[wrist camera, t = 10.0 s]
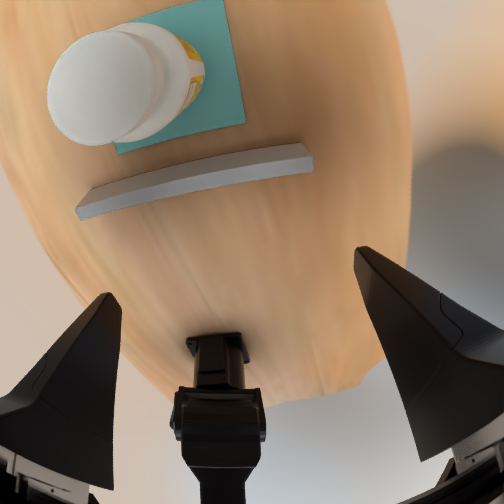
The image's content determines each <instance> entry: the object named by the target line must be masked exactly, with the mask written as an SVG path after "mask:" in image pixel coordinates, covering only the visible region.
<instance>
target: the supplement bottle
mask: <svg viewBox="0 0 504 504" xmlns="http://www.w3.org/2000/svg"><path fill="white" fill-rule="evenodd" d="M204 78H205V68H204V63H203V60H202V58H201V56H200V54H199V53H198V51H197V50H196V49H195V48H194V47H193V46H192V45H190V44H189V43H188V42H186V41H184V40H183V39H181V38H179V37H178V36H176V35H174V34H172V33H171V32H169V31H167V30H166V29H164V28H162V27H159V26H157V25H153V24H150V23H143V22H132V23H125V24H121V25H117V26H115V27H112V28H110V29H108V30H104V31H98V32H94V33H91V34H88V35H86V36H84V37H82V38H80V39H79V40H77V41H75V42H74V43H73V44H72V45H71V46H69V47H68V48H67V49H66V50H65V51H64V52H63V54H62V55H61V56H60V57H59V59H58V60H57V62H56V64H55V66H54V68H53V70H52V72H51V75H50V78H49V82H48V88H47V104H48V109H49V112H50V116H51V118H52V120H53V122H54V124H55V125H56V127H57V128H58V129H59V130H60V132H61V133H63V134H64V135H65V136H66V137H67V138H68V139H70V140H72V141H74V142H76V143H79V144H82V145H89V146H100V145H105V144H109V143H112V142H119V143H125V142H133V141H138V140H141V139H144V138H147V137H149V136H151V135H153V134H155V133H157V132H158V131H160V130H161V129H162V128H164V127H165V126H166V125H167V124H169V123H170V122H171V121H172V120H173V119H174V118H175V117H177V116H178V115H179V114H180V113H181V112H182V111H183V110H184V109H186V108H187V107H188V106H189V105H190V104H191V103H192V102H193V101H194V100H195V98H196V97H197V96H198V94H199V92H200V90H201V88H202V86H203V83H204Z"/></svg>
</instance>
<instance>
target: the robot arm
mask: <svg viewBox="0 0 504 504" xmlns="http://www.w3.org/2000/svg"><path fill="white" fill-rule="evenodd" d="M354 272H355V275H356V278H357V281H358V284H359V287H360V291H361V294H362V297H363V300H364V303H365V306H366V309H367V312H368V314H369V316H370V319H371V321H372V323H373V326H374V328H375V331H376V333H377V335H378V338H379V340H380V343H381V345H382V348H383V350H384V353H385V355H386V358H387V360H388V363H389V366H390V368H391V371H392V374H393V376H394V379H395V382H396V385H397V387H398V390H399V393H400V396H401V399H402V402H403V404H404V408H405V410H406V414H407V417H408V420H409V424H410V427H411V430H412V433H413V437H414V440H415V443H416V447H417V451H418V454H419V458H420V461H421V462H422V461H425V460H427V459H429V458H431V457H434V456H436V455H438V454H440V453H441V452H443V451H445V450H447V449H449V448H452V452H453V455H454V457H453V458H451V459H449V461H448V463H447V466H446V468H445V470H444V472H443V473H442V475H441V477H440V479H439V481H438V483H437V485H436V486H435V487H434V488H432V489H430V490H428V491H426V492H424V493H422V494H419V495H417V496H415V497H412V498H410V499H408V500H405V501H403V502H400V503H398V504H504V330H502V329H500V328H498V327H496V326H494V325H493V324H491V323H489V322H488V321H486V320H484V319H483V318H481V317H479V316H478V315H476V314H474V313H472V312H471V311H469V310H467V309H465V308H464V307H462V306H461V305H459V304H458V303H456V302H455V301H453V300H452V299H450V298H448V297H447V296H446V295H444V294H443V293H440V292H439V291H438V290H436V289H435V288H433V287H432V286H430V285H429V284H427V283H426V282H424V281H423V280H421V279H420V278H418V277H417V276H415V275H414V274H412V273H410V272H409V271H407V270H406V269H404V268H403V267H401V266H399V265H398V264H396V263H394V262H393V261H391V260H390V259H388V258H386V257H385V256H383V255H381V254H380V253H378V252H376V251H375V250H373V249H371V248H370V247H368V246H361V247H357V248H356V249H355V253H354ZM121 320H122V309H121V306H120V305H119V303H118V302H117V300H116V299H115V297H114V296H113V294H112V293H110V292H107V293H102V294H100V295H99V296H98V297H97V298H96V299H95V300H94V301H93V302H92V303H91V304H90V305H89V306H88V307H87V308H86V309H85V311H84V312H83V313H82V314H81V315H80V316H79V317H78V318H77V319H76V320H75V321H74V322H73V323H72V324H71V325H70V326H69V328H68V329H67V330H66V331H65V332H64V333H63V334H62V335H61V336H60V337H59V339H58V340H57V341H56V342H55V343H54V344H53V345H52V346H51V348H50V349H49V350H48V351H47V353H45V354H44V355H43V357H42V358H41V359H40V360H39V361H38V362H37V364H36V365H35V366H34V367H33V368H32V369H31V370H30V371H29V372H28V374H27V375H26V376H25V377H24V378H23V379H22V380H21V381H20V382H19V383H18V384H17V385H16V386H15V387H14V389H13V390H12V391H11V392H10V393H9V394H7V395H5V396H4V397H1V398H0V504H99V502H98V501H97V500H96V498H95V497H94V495H93V494H91V493H89V484H90V485H94V486H97V487H100V488H104V489H108V490H112V491H113V490H114V480H113V420H114V403H115V389H116V379H117V369H118V360H119V352H120V341H121ZM186 345H187V347H188V348H189V350H190V351H191V353H192V355H193V356H194V358H195V366H194V386H193V388H189V387H184V386H179V391H177V392H175V399H174V407H173V411H172V415H171V419H170V427H171V428H172V429H173V430H174V433H175V436H176V440H177V441H181V450H182V457H183V459H184V460H185V462H186V464H187V466H189V468H190V469H191V471H192V472H193V473H194V475H195V476H196V478H197V479H198V481H199V482H200V498H201V504H246V499H245V481H246V480H247V478H248V477H249V475H250V474H251V472H252V470H253V469H254V468H255V467H256V466H257V464H258V462H259V460H260V456H261V444H260V442H265V439H266V419H265V413H264V408H263V402H262V397H261V391H260V388H255V389H245V377H244V364H247V363H249V362H250V358H249V355H248V352H247V350H246V347H245V344H244V341H243V338H242V335H241V334H240V333H232V334H224V335H216V336H207V337H198V338H188V339H186Z"/></svg>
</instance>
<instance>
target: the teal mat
mask: <svg viewBox="0 0 504 504" xmlns="http://www.w3.org/2000/svg"><path fill="white" fill-rule="evenodd" d="M132 22H143V23H150V24H153V25H157V26H159V27H162V28H164V29H166V30H167V31H169V32H171V33H172V34H174V35H176V36H178V37H179V38H181V39H183V40H184V41H186V42H188V43H189V44H190V45H192V46H193V47H194V48H195V49H196V50H197V51H198V53H199V54H200V56H201V58H202V60H203V63H204V68H205V78H204V83H203V86H202V88H201V90H200V92H199V94H198V96H197V97H196V98H195V100H194V101H193V102H192V103H191V104H190V105H189V106H188V107H187V108H186V109H184V110H183V111H182V112H181V113H180V114H179V115H178V116H177V117H175V118H174V119H173V120H172V121H171V122H170V123H169V124H167V125H166V126H165V127H164V128H162V129H161V130H160V131H158V132H157V133H155V134H153V135H151V136H149V137H147V138H144V139H141V140H138V141H133V142H125V143H119V142H114V144H115V147H116V150H117V153H118V155H120V154H123V153H126V152H129V151H132V150H135V149H139V148H142V147H145V146H149V145H152V144H156V143H159V142H163V141H166V140H170V139H174V138H178V137H182V136H186V135H190V134H195V133H199V132H203V131H208V130H213V129H218V128H223V127H228V126H233V125H239V124H245V123H246V119H245V113H244V108H243V102H242V97H241V91H240V86H239V80H238V75H237V70H236V64H235V59H234V54H233V49H232V43H231V38H230V33H229V28H228V23H227V18H226V13H225V8H224V3H223V0H199V1H194V2H190V3H186V4H182V5H178V6H175V7H171V8H168V9H164V10H161V11H158V12H155V13H152V14H149V15H146V16H143V17H140V18H137V19H134V20H132V21H129V22H127V23H132ZM124 24H125V23H124Z"/></svg>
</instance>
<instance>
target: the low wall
mask: <svg viewBox="0 0 504 504" xmlns="http://www.w3.org/2000/svg"><path fill="white" fill-rule="evenodd" d="M307 172H314V162H313V156H312V154H311V153H310V152H309V151H308V150H307V148H306V147H305V146H304V145H303V144H302V143H293V144H286V145H278V146H271V147H265V148H258V149H252V150H246V151H241V152H235V153H230V154H224V155H219V156H214V157H209V158H205V159H200V160H195V161H191V162H187V163H182V164H178V165H174V166H170V167H166V168H162V169H158V170H154V171H151V172H147V173H143V174H140V175H136V176H133V177H129V178H126V179H122V180H119V181H116V182H113V183H109V184H106V185H103V186H100V187H97V188H94V189H91V190H90V191H89V192H88V194H87V195H86V196H85V197H84V198H83V199H82V201H81V202H80V203H79V204H78V205H77V206H76V208H75V211H76V213H77V215H78V217H79V219H80V221H81V220H84V219H87V218H91V217H94V216H98V215H101V214H105V213H109V212H112V211H116V210H120V209H123V208H127V207H131V206H135V205H139V204H143V203H147V202H151V201H155V200H160V199H164V198H168V197H173V196H177V195H182V194H186V193H191V192H196V191H201V190H205V189H210V188H216V187H221V186H226V185H231V184H237V183H242V182H248V181H254V180H260V179H266V178H273V177H279V176H286V175H293V174H300V173H307Z"/></svg>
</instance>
